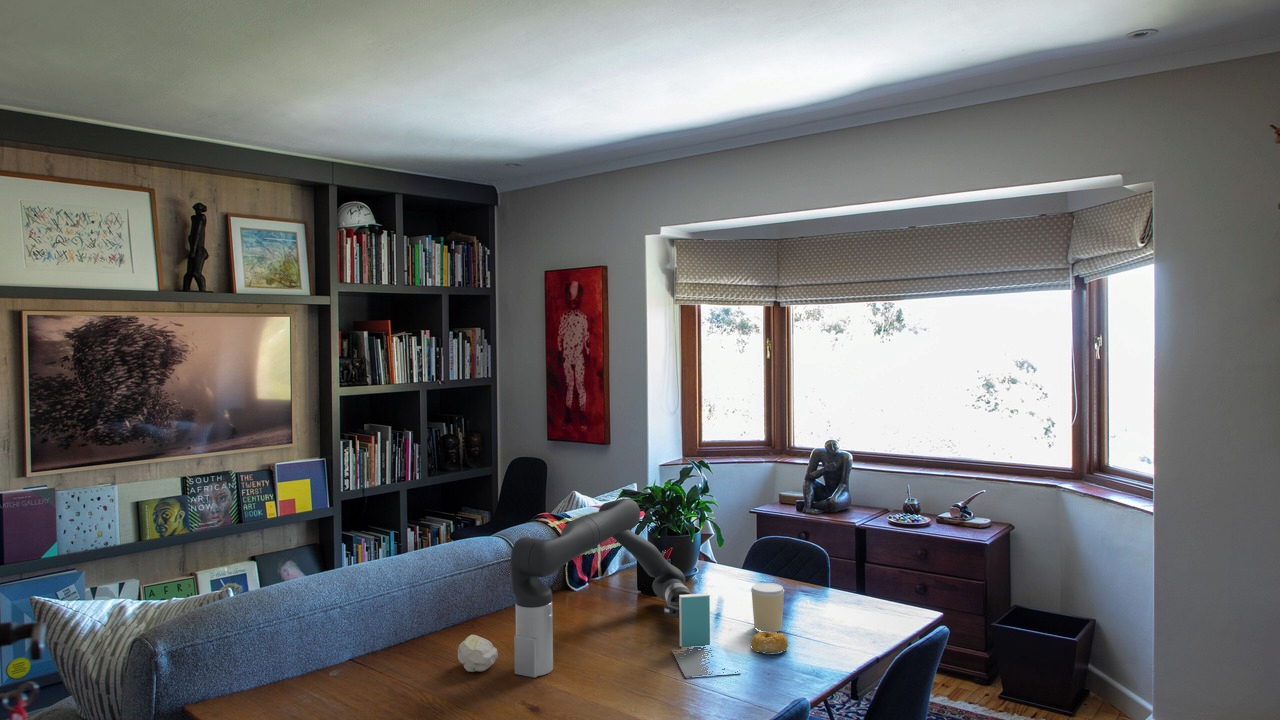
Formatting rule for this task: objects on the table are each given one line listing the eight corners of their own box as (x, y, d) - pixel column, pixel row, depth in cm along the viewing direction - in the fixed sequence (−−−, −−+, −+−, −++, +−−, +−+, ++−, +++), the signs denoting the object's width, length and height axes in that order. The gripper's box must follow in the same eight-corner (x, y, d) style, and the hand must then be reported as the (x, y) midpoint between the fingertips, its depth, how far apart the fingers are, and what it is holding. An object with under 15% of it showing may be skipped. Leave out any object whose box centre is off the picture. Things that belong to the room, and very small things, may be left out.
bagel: (789, 642, 220) (789, 625, 220) (786, 658, 210) (786, 640, 210) (753, 640, 223) (752, 623, 223) (748, 655, 212) (747, 638, 212)
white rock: (494, 657, 213) (456, 666, 209) (491, 626, 213) (452, 634, 209) (503, 671, 201) (462, 680, 198) (499, 637, 202) (459, 646, 198)
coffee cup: (783, 623, 235) (782, 582, 235) (785, 635, 226) (785, 592, 225) (750, 622, 236) (750, 582, 236) (752, 634, 227) (751, 591, 226)
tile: (679, 646, 218) (679, 595, 218) (708, 644, 220) (708, 593, 219) (681, 649, 216) (680, 597, 216) (710, 647, 218) (709, 595, 217)
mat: (671, 651, 215) (670, 649, 215) (721, 647, 217) (721, 645, 217) (685, 678, 197) (685, 676, 197) (740, 674, 199) (740, 672, 199)
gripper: (657, 587, 236) (668, 606, 219) (701, 585, 238) (715, 603, 221) (657, 613, 236) (668, 633, 219) (701, 610, 238) (716, 630, 221)
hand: (692, 618), depth 220 cm, fingers closed
